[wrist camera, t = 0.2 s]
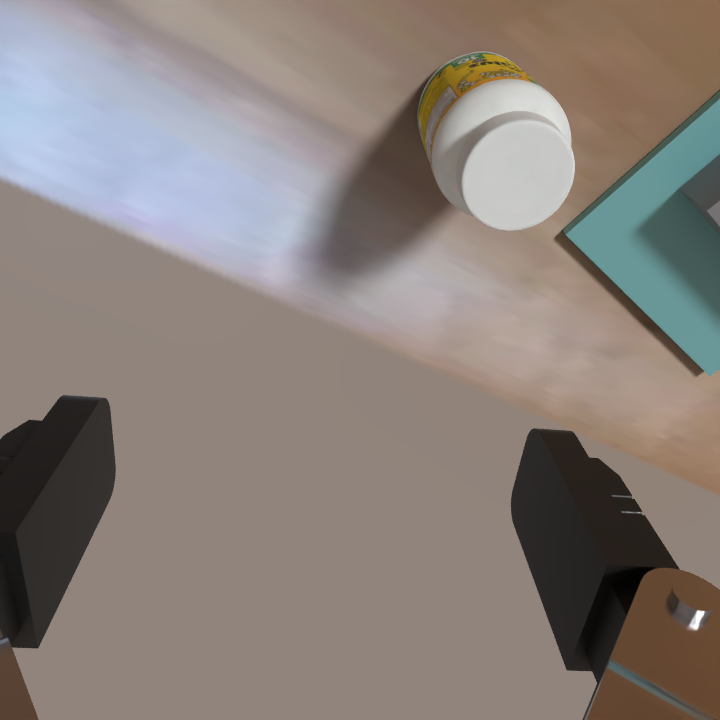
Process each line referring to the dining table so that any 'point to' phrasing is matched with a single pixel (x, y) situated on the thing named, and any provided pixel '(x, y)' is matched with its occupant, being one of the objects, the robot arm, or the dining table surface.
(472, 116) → the supplement bottle
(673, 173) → the bottle stand
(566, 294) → the dining table surface
